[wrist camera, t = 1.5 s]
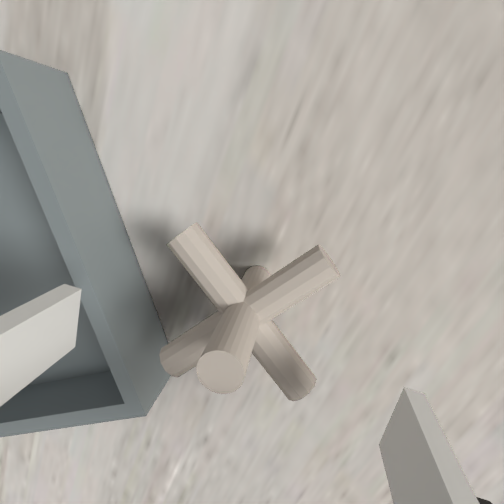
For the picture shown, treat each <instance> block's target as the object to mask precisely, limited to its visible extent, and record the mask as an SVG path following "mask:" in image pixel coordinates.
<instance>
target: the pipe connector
mask: <svg viewBox="0 0 504 504" xmlns="http://www.w3.org/2000/svg"><path fill="white" fill-rule="evenodd" d="M167 246H168V247H169V248H170V250H171V251H172V252H173V253H174V255H175V256H176V257H177V258H178V260H179V261H180V262H181V264H182V265H183V266H184V267H185V269H186V270H187V271H188V272H189V274H190V275H191V276H192V277H193V279H194V280H195V281H196V283H197V284H198V285H199V286H200V288H201V289H202V290H203V291H204V293H205V294H206V295H207V296H208V298H209V299H210V300H211V302H212V303H213V304H214V305H215V307H216V308H217V309H218V310H219V311H217V312H215V313H214V314H212V315H211V316H209V317H208V318H206V319H205V320H203V321H202V322H200V323H199V324H197V325H196V326H194V327H193V328H191V329H190V330H188V331H187V332H185V333H184V334H182V335H181V336H179V337H178V338H176V339H175V340H173V341H172V342H170V343H169V344H167V345H165V346H164V347H162V348H161V351H160V354H159V356H160V362H161V364H162V366H163V368H164V370H165V371H166V372H167V373H168V374H170V375H171V376H174V377H179V376H181V375H182V374H184V373H186V372H187V371H189V370H190V369H192V368H194V367H195V366H196V373H197V376H198V379H199V380H200V382H201V383H202V384H203V385H204V386H205V387H206V388H207V389H209V390H210V391H212V392H215V393H220V394H227V393H232V392H234V391H236V390H237V389H239V388H240V387H241V385H242V384H243V381H244V378H245V375H246V371H247V368H248V364H249V360H250V357H251V353H252V354H253V355H254V356H255V357H256V359H257V360H258V361H259V362H260V364H261V365H262V366H263V367H264V369H265V370H266V371H267V373H268V374H269V375H270V376H271V378H272V379H273V380H274V381H275V383H276V384H277V385H278V386H279V388H280V389H281V390H282V392H283V393H284V394H285V395H286V397H287V398H288V399H289V400H292V401H297V400H300V399H302V398H304V397H305V396H306V395H308V394H309V393H310V392H311V390H312V389H313V388H314V386H315V383H316V378H315V376H314V374H313V373H312V372H311V370H310V369H309V368H308V366H307V365H306V364H305V362H304V361H303V360H302V359H301V357H300V356H299V355H298V353H297V352H296V351H295V349H294V348H293V347H292V345H291V344H290V343H289V342H288V340H287V339H286V338H285V336H284V335H283V334H282V332H281V331H280V330H279V329H278V327H277V326H276V325H275V323H274V322H273V321H272V319H273V318H275V317H276V316H278V315H280V314H281V313H283V312H285V311H286V310H288V309H289V308H291V307H293V306H294V305H296V304H298V303H299V302H301V301H302V300H304V299H306V298H307V297H309V296H310V295H312V294H314V293H315V292H317V291H319V290H320V289H322V288H323V287H325V286H327V285H328V284H330V283H332V282H333V281H335V280H336V279H338V278H340V274H339V271H338V270H337V268H336V266H335V264H334V263H333V261H332V260H331V258H330V257H329V255H328V254H327V253H326V252H325V250H324V249H323V248H322V247H321V246H320V245H317V246H315V247H314V248H312V249H311V250H309V251H308V252H306V253H305V254H303V255H302V256H300V257H299V258H297V259H296V260H294V261H293V262H291V263H290V264H288V265H287V266H285V267H284V268H282V269H281V270H279V271H278V272H276V273H275V274H273V275H272V276H271V274H270V273H269V271H268V270H267V269H266V268H264V267H261V266H252V267H250V268H249V269H248V270H246V272H245V274H244V276H243V277H242V279H240V278H239V276H238V275H237V274H236V273H235V271H234V270H233V269H232V267H231V266H230V265H229V263H228V262H227V261H226V259H225V258H224V257H223V256H222V254H221V253H220V252H219V250H218V249H217V248H216V246H215V245H214V244H213V243H212V241H211V240H210V239H209V237H208V236H207V235H206V233H205V232H204V231H203V230H202V228H201V227H200V226H199V224H198V223H197V222H196V223H195V224H193V225H192V226H190V227H189V228H188V229H186V230H185V231H183V232H182V233H181V234H179V235H178V236H177V237H175V238H174V239H173V240H172V241H170V242H169V243H168V244H167Z"/></svg>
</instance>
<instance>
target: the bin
mask: <svg viewBox="0 0 504 504" xmlns="http://www.w3.org/2000/svg"><path fill="white" fill-rule="evenodd" d="M63 284H67V285H70V286H73V287H77V288H80V289H82V290H81V299H80V308H79V317H78V326H77V335H76V344H75V348H73V349H72V350H71V351H70V352H68V353H67V354H66V355H64V356H63V357H62V358H61V359H59V360H58V361H57V362H56V363H54V364H53V365H52V366H51V367H49V368H48V369H47V370H46V371H44V372H43V373H42V374H41V375H39V376H38V377H37V378H36V379H34V380H33V381H32V382H31V383H29V384H28V385H27V386H26V387H24V388H23V389H22V390H21V391H19V392H18V393H17V394H16V395H14V396H13V397H12V398H11V399H9V400H8V401H7V402H6V403H4V404H3V405H2V406H1V407H0V437H5V436H12V435H19V434H26V433H33V432H40V431H46V430H53V429H60V428H67V427H74V426H81V425H88V424H94V423H101V422H108V421H115V420H122V419H129V418H135V417H142V416H146V415H147V413H148V412H149V410H150V408H151V407H152V405H153V404H154V402H155V400H156V399H157V397H158V396H159V394H160V392H161V391H162V389H163V388H164V386H165V384H166V383H167V381H168V379H169V378H170V376H171V375H170V374H168V373H167V372H166V371H165V370H164V368H163V366H162V364H161V362H160V356H159V354H160V351H161V348H162V347H164V346H165V345H167V344H168V341H167V339H166V336H165V333H164V331H163V328H162V325H161V323H160V320H159V317H158V314H157V312H156V309H155V306H154V304H153V301H152V298H151V296H150V293H149V290H148V288H147V285H146V282H145V280H144V277H143V274H142V272H141V269H140V266H139V264H138V261H137V258H136V255H135V253H134V250H133V247H132V245H131V242H130V239H129V237H128V234H127V231H126V229H125V226H124V223H123V221H122V218H121V215H120V213H119V210H118V207H117V205H116V202H115V199H114V197H113V194H112V191H111V188H110V186H109V183H108V180H107V178H106V175H105V172H104V170H103V167H102V164H101V162H100V159H99V156H98V154H97V151H96V148H95V146H94V143H93V140H92V138H91V135H90V132H89V129H88V127H87V124H86V121H85V119H84V116H83V113H82V111H81V108H80V105H79V103H78V100H77V97H76V95H75V92H74V89H73V87H72V84H71V81H70V79H69V76H68V73H66V72H63V71H60V70H57V69H54V68H52V67H49V66H46V65H43V64H40V63H37V62H34V61H31V60H28V59H25V58H22V57H19V56H17V55H14V54H11V53H8V52H5V51H2V50H0V316H1V315H3V314H5V313H7V312H9V311H11V310H13V309H15V308H17V307H19V306H21V305H23V304H25V303H27V302H29V301H31V300H33V299H35V298H37V297H39V296H41V295H43V294H45V293H47V292H49V291H51V290H53V289H55V288H57V287H59V286H61V285H63Z"/></svg>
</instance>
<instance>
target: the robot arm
mask: <svg viewBox="0 0 504 504" xmlns="http://www.w3.org/2000/svg"><path fill="white" fill-rule="evenodd" d="M81 290H82V289H80V288H77V287H73V286H70V285H67V284H63V285H61V286H59V287H57V288H55V289H53V290H51V291H49V292H47V293H45V294H43V295H41V296H39V297H37V298H35V299H33V300H31V301H29V302H27V303H25V304H23V305H21V306H19V307H17V308H15V309H13V310H11V311H9V312H7V313H5V314H3V315H1V316H0V407H1V406H2V405H3V404H4V403H6V402H7V401H8V400H9V399H11V398H12V397H13V396H14V395H16V394H17V393H18V392H19V391H21V390H22V389H23V388H24V387H26V386H27V385H28V384H29V383H31V382H32V381H33V380H34V379H36V378H37V377H38V376H39V375H41V374H42V373H43V372H44V371H46V370H47V369H48V368H49V367H51V366H52V365H53V364H54V363H56V362H57V361H58V360H59V359H61V358H62V357H63V356H64V355H66V354H67V353H68V352H70V351H71V350H72V349H73V348H75V344H76V335H77V326H78V317H79V308H80V299H81ZM379 446H380V451H381V455H382V459H383V463H384V467H385V471H386V475H387V479H388V483H389V487H390V491H391V495H392V499H393V503H394V504H492V503H491V502H490V501H487V500H484V499H481V498H478V497H476V496H475V494H474V492H473V490H472V488H471V486H470V484H469V482H468V480H467V478H466V476H465V474H464V472H463V470H462V468H461V466H460V464H459V461H458V459H457V457H456V455H455V453H454V451H453V449H452V447H451V445H450V443H449V441H448V439H447V437H446V435H445V433H444V431H443V429H442V427H441V425H440V423H439V421H438V419H437V417H436V415H435V413H434V411H433V409H432V407H431V405H430V403H429V401H428V399H427V397H426V395H425V393H421V392H418V391H415V390H411V389H408V388H405V387H404V389H403V391H402V393H401V395H400V398H399V400H398V402H397V405H396V407H395V409H394V411H393V414H392V416H391V418H390V420H389V423H388V425H387V427H386V430H385V432H384V434H383V436H382V439H381V441H380V443H379Z"/></svg>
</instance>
